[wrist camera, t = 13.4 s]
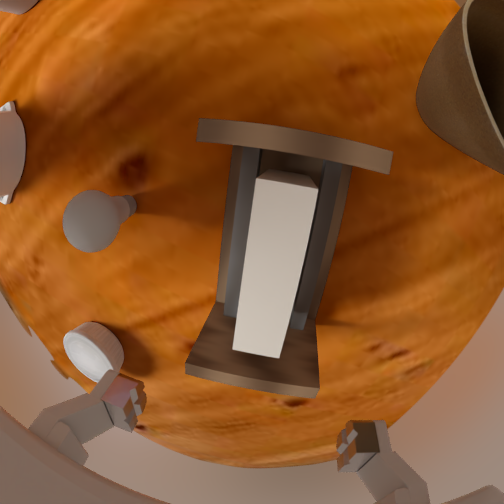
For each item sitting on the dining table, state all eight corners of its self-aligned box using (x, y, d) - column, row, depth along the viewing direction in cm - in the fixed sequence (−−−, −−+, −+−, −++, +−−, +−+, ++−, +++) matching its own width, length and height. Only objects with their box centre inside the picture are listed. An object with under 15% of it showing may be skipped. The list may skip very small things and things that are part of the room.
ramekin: (102, 368, 44) (89, 385, 39) (70, 321, 41) (53, 336, 36) (141, 364, 41) (128, 385, 36) (105, 310, 38) (86, 328, 33)
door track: (217, 307, 34) (185, 373, 23) (237, 130, 26) (199, 118, 15) (311, 324, 33) (314, 398, 22) (353, 150, 25) (393, 151, 14)
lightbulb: (156, 227, 32) (101, 262, 21) (116, 229, 32) (59, 261, 22) (149, 176, 29) (88, 192, 19) (109, 182, 30) (46, 200, 20)
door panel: (250, 293, 32) (232, 349, 22) (269, 168, 26) (256, 178, 17) (284, 299, 31) (279, 358, 22) (309, 175, 26) (318, 189, 17)
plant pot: (486, 178, 23) (579, 210, 8) (384, 157, 25) (473, 170, 10) (483, 67, 18) (566, 46, 3) (380, 32, 20) (439, -41, 5)
